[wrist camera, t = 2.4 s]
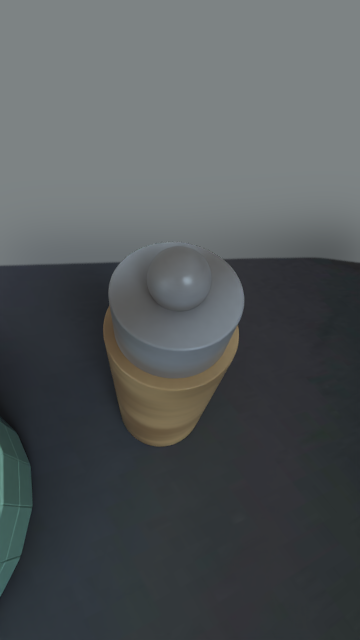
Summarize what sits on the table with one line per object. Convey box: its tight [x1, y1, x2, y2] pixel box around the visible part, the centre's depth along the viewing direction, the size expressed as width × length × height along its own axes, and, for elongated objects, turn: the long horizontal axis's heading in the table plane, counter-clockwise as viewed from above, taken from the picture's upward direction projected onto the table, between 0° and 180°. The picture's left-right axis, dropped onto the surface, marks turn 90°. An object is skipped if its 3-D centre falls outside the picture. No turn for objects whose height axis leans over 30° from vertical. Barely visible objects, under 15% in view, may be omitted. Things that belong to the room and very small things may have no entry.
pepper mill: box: [103, 242, 244, 446], centre depth 14 cm, size 5×5×14 cm
